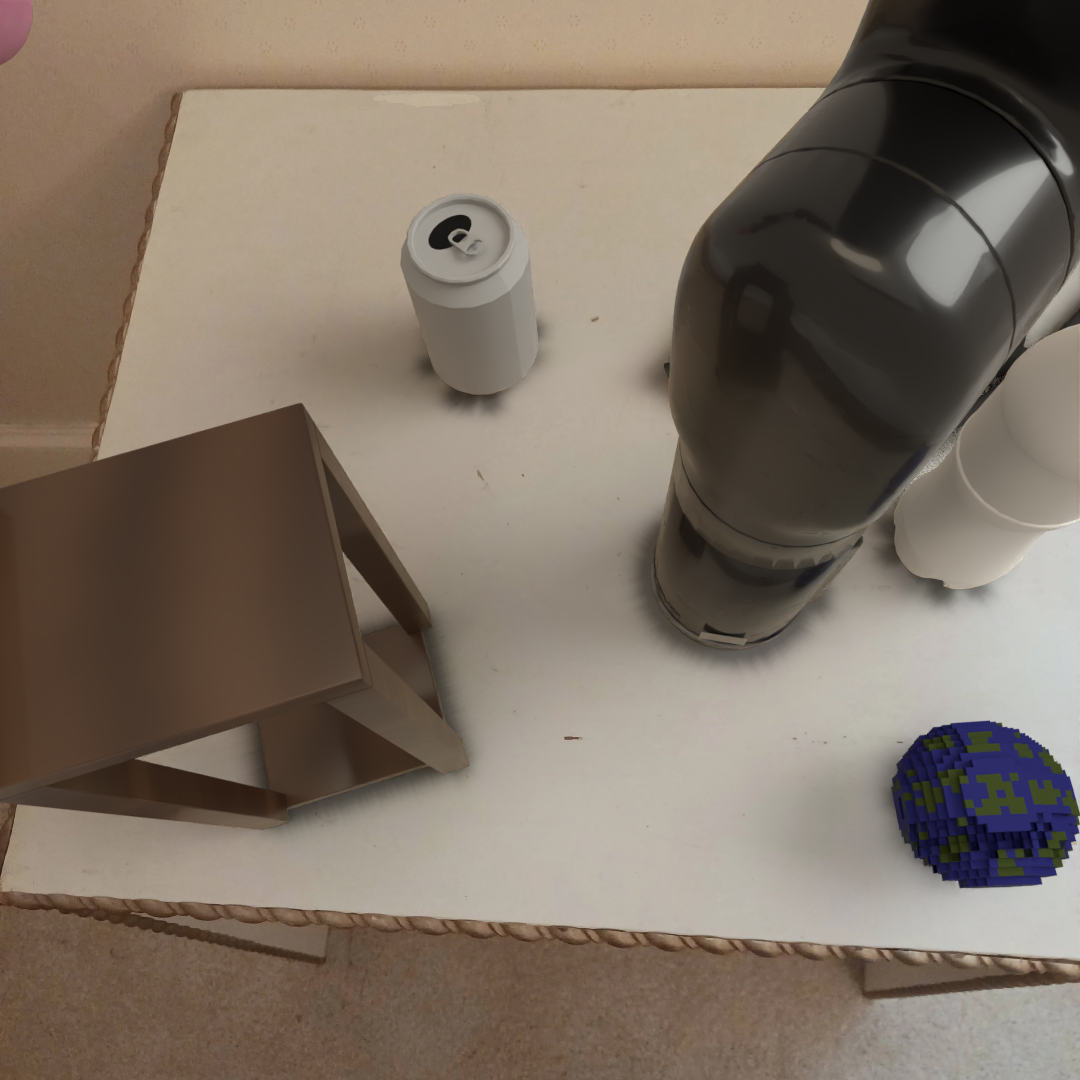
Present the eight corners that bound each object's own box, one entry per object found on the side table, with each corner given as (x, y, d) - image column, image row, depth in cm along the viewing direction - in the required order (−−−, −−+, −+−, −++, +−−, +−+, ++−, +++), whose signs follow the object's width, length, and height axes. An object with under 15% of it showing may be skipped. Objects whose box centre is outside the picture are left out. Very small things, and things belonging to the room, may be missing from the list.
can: (486, 290, 61) (463, 159, 49) (562, 351, 58) (555, 229, 47) (408, 356, 59) (366, 237, 48) (483, 422, 57) (457, 313, 46)
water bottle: (878, 485, 54) (1101, 194, 30) (997, 494, 53) (1318, 204, 30) (881, 594, 51) (1126, 367, 28) (1006, 605, 50) (1364, 382, 27)
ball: (1028, 737, 47) (1076, 705, 40) (1067, 886, 44) (1126, 879, 37) (876, 747, 48) (897, 717, 42) (903, 891, 45) (931, 885, 38)
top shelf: (430, 607, 52) (282, 369, 27) (471, 767, 49) (345, 664, 24) (240, 664, 52) (-93, 474, 27) (268, 831, 48) (-86, 794, 23)
